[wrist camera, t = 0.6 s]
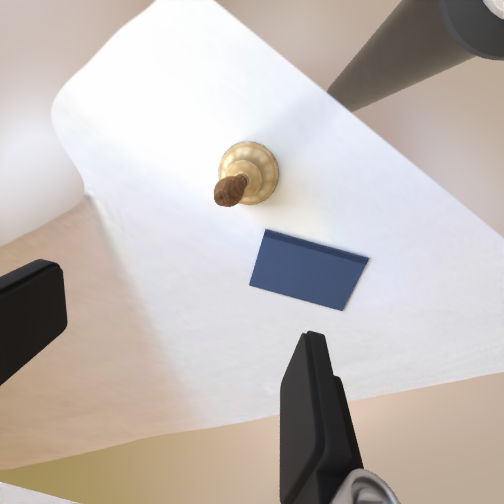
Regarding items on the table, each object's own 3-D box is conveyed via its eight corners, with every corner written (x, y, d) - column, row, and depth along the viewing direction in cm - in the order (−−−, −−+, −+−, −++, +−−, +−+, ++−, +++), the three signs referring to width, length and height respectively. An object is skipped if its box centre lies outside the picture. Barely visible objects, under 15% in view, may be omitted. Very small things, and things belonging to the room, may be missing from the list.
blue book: (265, 229, 37) (265, 230, 37) (368, 257, 37) (369, 258, 37) (249, 284, 41) (249, 285, 41) (341, 310, 41) (342, 311, 41)
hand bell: (256, 215, 37) (240, 262, 22) (208, 182, 35) (157, 209, 21) (290, 166, 33) (298, 182, 19) (239, 128, 32) (204, 114, 18)
